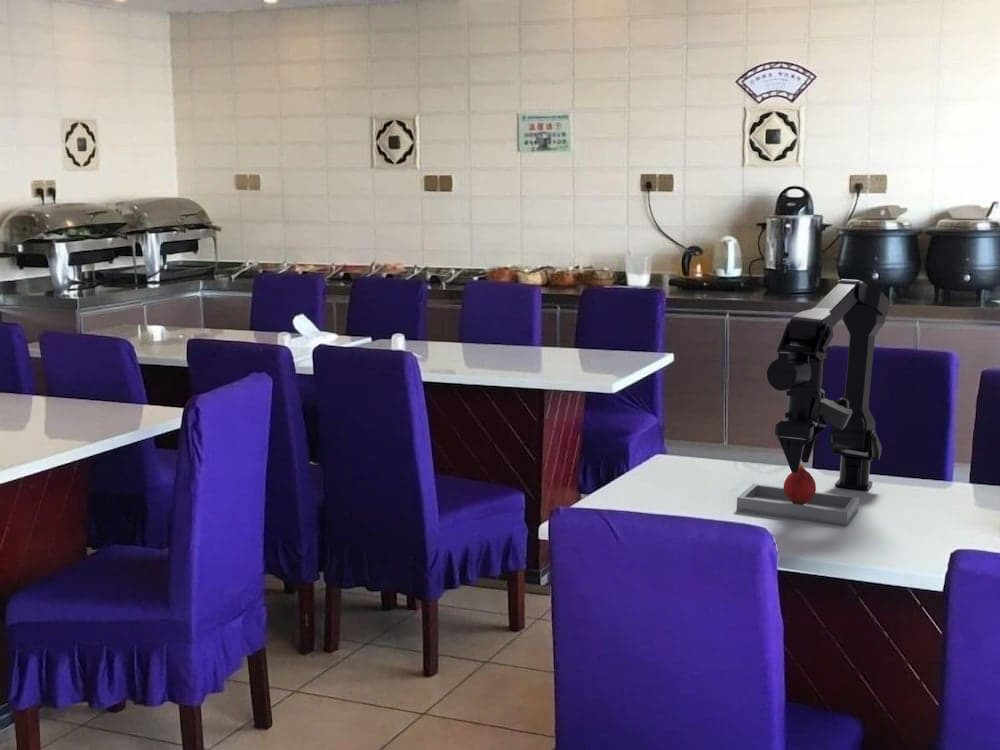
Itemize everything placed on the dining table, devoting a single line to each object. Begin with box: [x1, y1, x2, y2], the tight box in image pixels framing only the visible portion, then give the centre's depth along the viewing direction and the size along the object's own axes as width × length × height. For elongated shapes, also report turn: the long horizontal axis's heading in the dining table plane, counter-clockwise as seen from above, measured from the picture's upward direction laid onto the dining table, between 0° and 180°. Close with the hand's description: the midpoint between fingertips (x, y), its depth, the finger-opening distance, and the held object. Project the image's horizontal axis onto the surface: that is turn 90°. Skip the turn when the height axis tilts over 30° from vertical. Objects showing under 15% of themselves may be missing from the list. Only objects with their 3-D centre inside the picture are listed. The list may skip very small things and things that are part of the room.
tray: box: [736, 483, 860, 527], centre depth 225 cm, size 12×20×2 cm, turn 64°
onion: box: [783, 464, 817, 505], centre depth 225 cm, size 6×6×8 cm
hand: (799, 467), depth 224 cm, fingers open, 9 cm apart
